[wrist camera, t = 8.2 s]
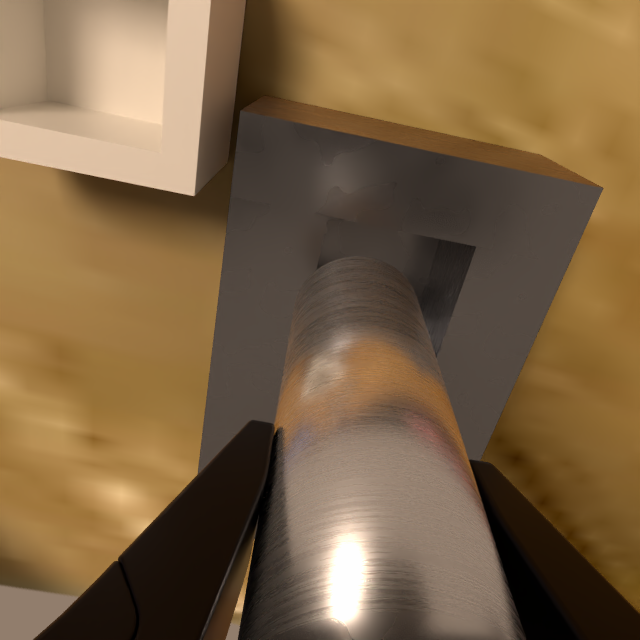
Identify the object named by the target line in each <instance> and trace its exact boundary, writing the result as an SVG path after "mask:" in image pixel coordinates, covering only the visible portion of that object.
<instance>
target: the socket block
mask: <svg viewBox="0 0 640 640" xmlns="http://www.w3.org/2000/svg"><path fill="white" fill-rule="evenodd" d="M602 190H603V188H602V187H600V186H599V185H597V184H595V183H593V182H591V181H589V180H587V179H585V178H583V177H582V176H580V175H578V174H576V173H574V172H572V171H570V170H568V169H567V168H565V167H563V166H561V165H559V164H557V163H555V162H553V161H551V160H550V159H548V158H546V157H544V156H542V155H539V154H535V153H530V152H526V151H521V150H516V149H512V148H507V147H503V146H498V145H493V144H489V143H484V142H479V141H475V140H470V139H466V138H461V137H456V136H452V135H447V134H442V133H438V132H433V131H429V130H424V129H419V128H415V127H410V126H405V125H401V124H396V123H392V122H387V121H382V120H378V119H373V118H368V117H364V116H359V115H355V114H350V113H345V112H341V111H336V110H331V109H327V108H322V107H318V106H313V105H308V104H304V103H299V102H294V101H290V100H285V99H281V98H276V97H271V96H267V95H264V96H263V97H261V98H259V99H258V100H256V101H255V102H253V103H251V104H250V105H248V106H247V107H245V108H243V109H242V110H240V118H239V127H238V135H237V144H236V152H235V161H234V169H233V178H232V186H231V195H230V203H229V212H228V220H227V229H226V237H225V246H224V254H223V263H222V271H221V280H220V289H219V297H218V306H217V314H216V323H215V331H214V340H213V348H212V357H211V365H210V374H209V382H208V391H207V399H206V408H205V416H204V425H203V433H202V442H201V450H200V459H199V468H198V474H199V473H200V472H201V471H202V470H203V469H204V468H205V467H206V466H207V464H208V463H209V462H210V461H211V460H212V459H213V458H214V457H215V456H216V455H217V454H218V453H219V452H220V451H221V450H222V449H223V448H224V447H225V446H226V445H227V444H228V443H229V442H230V440H231V439H232V438H233V437H234V436H235V435H236V434H237V433H238V432H239V431H240V430H241V429H242V428H243V427H244V426H245V425H246V424H247V423H248V422H249V421H250V420H258V421H263V422H269V423H273V424H274V423H275V417H276V412H277V406H278V400H279V394H280V388H281V382H282V376H283V370H284V364H285V358H286V353H287V347H288V341H289V335H290V329H291V323H292V317H293V311H294V305H295V301H296V297H297V295H298V292H299V290H300V288H301V286H302V285H303V283H304V282H305V281H306V279H307V278H308V277H309V276H310V275H311V274H312V273H313V272H314V271H316V270H317V269H319V268H320V267H321V266H323V265H325V264H327V263H329V262H331V261H334V260H337V259H341V258H345V257H354V256H358V257H369V258H374V259H378V260H381V261H383V262H386V263H388V264H390V265H391V266H393V267H395V268H396V269H397V270H399V271H400V272H401V273H402V274H403V275H404V276H405V277H406V278H407V279H408V281H409V282H410V284H411V285H412V287H413V289H414V291H415V293H416V296H417V299H418V302H419V305H420V309H421V312H422V315H423V318H424V321H425V324H426V327H427V331H428V334H429V337H430V340H431V343H432V346H433V349H434V352H435V356H436V359H437V362H438V365H439V368H440V371H441V374H442V377H443V381H444V384H445V387H446V390H447V393H448V396H449V399H450V403H451V406H452V409H453V412H454V415H455V418H456V421H457V424H458V428H459V431H460V434H461V437H462V440H463V443H464V446H465V449H466V453H467V456H468V459H469V460H470V459H472V460H477V461H480V460H481V457H482V455H483V453H484V451H485V449H486V446H487V444H488V442H489V440H490V438H491V435H492V433H493V431H494V429H495V427H496V424H497V422H498V420H499V418H500V415H501V413H502V411H503V409H504V407H505V404H506V402H507V400H508V398H509V396H510V393H511V391H512V389H513V387H514V385H515V382H516V380H517V378H518V376H519V374H520V371H521V369H522V367H523V365H524V362H525V360H526V358H527V356H528V354H529V351H530V349H531V347H532V345H533V343H534V340H535V338H536V336H537V334H538V332H539V329H540V327H541V325H542V323H543V320H544V318H545V316H546V314H547V312H548V309H549V307H550V305H551V303H552V301H553V298H554V296H555V294H556V292H557V290H558V287H559V285H560V283H561V281H562V279H563V276H564V274H565V272H566V270H567V267H568V265H569V263H570V261H571V259H572V256H573V254H574V252H575V250H576V248H577V245H578V243H579V241H580V239H581V237H582V234H583V232H584V230H585V228H586V226H587V223H588V221H589V219H590V217H591V214H592V212H593V210H594V208H595V206H596V203H597V201H598V199H599V197H600V195H601V192H602ZM258 518H259V517H258ZM257 524H258V522H257ZM256 529H257V526H256ZM255 535H256V531H255ZM254 539H255V536H254Z"/></svg>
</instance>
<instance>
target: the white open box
mask: <svg viewBox="0 0 640 640" xmlns="http://www.w3.org/2000/svg"><path fill="white" fill-rule="evenodd" d="M245 6H246V0H0V157H3V158H8V159H13V160H18V161H23V162H28V163H33V164H38V165H43V166H48V167H53V168H57V169H62V170H67V171H72V172H77V173H82V174H87V175H92V176H97V177H102V178H107V179H112V180H117V181H122V182H127V183H132V184H136V185H141V186H146V187H151V188H156V189H161V190H166V191H171V192H176V193H181V194H186V195H191V196H195V195H196V194H197V193H198V192H199V191H200V190H201V189H202V188H203V187H204V186H205V185H206V184H207V183H208V182H209V181H210V180H211V179H212V178H213V177H214V176H215V175H216V174H217V173H218V172H219V171H220V170H221V169H222V167H223V166H224V165H225V164H226V163H227V162H228V158H229V149H230V140H231V131H232V122H233V113H234V104H235V95H236V86H237V77H238V68H239V59H240V50H241V41H242V33H243V24H244V15H245Z"/></svg>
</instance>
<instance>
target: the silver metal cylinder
mask: <svg viewBox="0 0 640 640" xmlns="http://www.w3.org/2000/svg"><path fill="white" fill-rule="evenodd" d="M274 426H275V431H274V438H273V444H272V451H271V457H270V464H269V470H268V475H267V479H266V484H265V489H264V494H263V498H262V503H261V508H260V512H259V518H258V524H257V529H256V535H255V541H254V547H253V553H252V559H251V565H250V571H249V577H248V583H247V588H246V594H245V600H244V606H243V612H242V618H241V624H240V631H239V636H238V640H526V637H525V634H524V631H523V628H522V625H521V622H520V619H519V615H518V612H517V609H516V606H515V603H514V600H513V597H512V593H511V590H510V587H509V584H508V581H507V578H506V575H505V572H504V568H503V565H502V562H501V559H500V556H499V553H498V550H497V547H496V543H495V540H494V537H493V534H492V531H491V528H490V525H489V521H488V518H487V515H486V512H485V509H484V506H483V503H482V500H481V496H480V493H479V490H478V487H477V484H476V481H475V478H474V475H473V471H472V468H471V465H470V462H469V459H468V456H467V453H466V449H465V446H464V443H463V440H462V437H461V434H460V431H459V428H458V424H457V421H456V418H455V415H454V412H453V409H452V406H451V403H450V399H449V396H448V393H447V390H446V387H445V384H444V381H443V377H442V374H441V371H440V368H439V365H438V362H437V359H436V356H435V352H434V349H433V346H432V343H431V340H430V337H429V334H428V331H427V327H426V324H425V321H424V318H423V315H422V312H421V309H420V305H419V302H418V299H417V296H416V293H415V291H414V289H413V287H412V285H411V284H410V282H409V281H408V279H407V278H406V277H405V276H404V275H403V274H402V273H401V272H400V271H399V270H397V269H396V268H395V267H393V266H391V265H390V264H388V263H386V262H383V261H381V260H378V259H374V258H369V257H358V256H354V257H345V258H341V259H337V260H334V261H331V262H329V263H327V264H325V265H323V266H321V267H320V268H319V269H317V270H316V271H314V272H313V273H312V274H311V275H310V276H309V277H308V278H307V279H306V281H305V282H304V283H303V285H302V286H301V288H300V290H299V292H298V295H297V297H296V301H295V305H294V311H293V317H292V323H291V329H290V335H289V341H288V347H287V353H286V358H285V364H284V370H283V376H282V382H281V388H280V394H279V400H278V406H277V412H276V417H275V423H274Z"/></svg>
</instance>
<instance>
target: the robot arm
mask: <svg viewBox="0 0 640 640" xmlns="http://www.w3.org/2000/svg"><path fill="white" fill-rule="evenodd" d="M274 431H275V426H274V424H273V423H269V422H263V421H258V420H250V421H249V422H248V423H247V424H246V425H245V426H244V427H243V428H242V429H241V430H240V431H239V432H238V433H237V434H236V435H235V436H234V437H233V438H232V439H231V440H230V442H229V443H228V444H227V445H226V446H225V447H224V448H223V449H222V450H221V451H220V452H219V453H218V454H217V455H216V456H215V457H214V458H213V459H212V460H211V461H210V462H209V463H208V464H207V466H206V467H205V468H204V469H203V470H202V471H201V472H200V473H199V474H198V475H197V476H196V477H195V478H194V479H193V480H192V481H191V482H190V483H189V484H188V485H187V486H186V487H185V488H184V490H183V491H182V492H181V493H180V494H179V495H178V496H177V497H176V498H175V499H174V500H173V501H172V502H171V503H170V504H169V505H168V506H167V507H166V508H165V509H164V510H163V511H162V512H161V513H160V515H159V516H158V517H157V518H156V519H155V520H154V521H153V522H152V523H151V524H150V525H149V526H148V527H147V528H146V529H145V530H144V531H143V532H142V533H141V534H140V535H139V536H138V537H137V539H136V540H135V541H134V542H133V543H132V544H131V545H130V546H129V547H128V548H127V549H126V550H125V551H124V552H123V553H122V554H121V555H120V556H119V558H118V561H114V562H113V563H112V564H111V565H110V566H109V567H108V568H107V569H106V571H105V572H104V573H103V574H102V575H101V576H100V577H99V578H98V579H97V580H96V581H95V582H94V583H93V584H92V585H91V586H90V587H89V588H88V589H87V590H86V591H85V592H84V593H83V594H82V595H81V596H80V597H79V598H78V599H77V600H76V601H75V602H74V603H73V604H72V605H71V606H70V607H69V608H68V609H67V610H66V611H65V612H64V613H63V614H62V615H60V616H59V617H58V618H57V619H56V620H55V621H54V622H53V623H51V624H50V625H49V626H48V627H47V628H46V629H45V630H43V631H42V632H41V633H40V634H39V635H38V636H37V637H36V638H34V640H225V639H226V636H227V633H228V629H229V626H230V623H231V620H232V617H233V613H234V610H235V607H236V604H237V601H238V597H239V594H240V591H241V588H242V584H243V581H244V578H245V574H246V571H247V567H248V564H249V559H250V555H251V550H252V545H253V540H254V536H255V531H256V526H257V522H258V517H259V512H260V508H261V503H262V498H263V494H264V489H265V484H266V479H267V475H268V470H269V464H270V457H271V451H272V444H273V438H274ZM469 462H470V465H471V468H472V471H473V475H474V478H475V481H476V484H477V487H478V490H479V493H480V496H481V500H482V503H483V506H484V509H485V512H486V515H487V518H488V521H489V525H490V528H491V531H492V534H493V537H494V540H495V543H496V547H497V550H498V553H499V556H500V559H501V562H502V565H503V568H504V572H505V575H506V578H507V581H508V584H509V587H510V590H511V593H512V597H513V600H514V603H515V606H516V609H517V612H518V615H519V619H520V622H521V625H522V628H523V631H524V634H525V637H526V640H640V613H639V612H638V611H637V610H636V609H635V608H634V607H633V606H632V605H631V604H630V603H629V602H628V601H627V600H626V599H625V598H624V597H623V596H622V595H621V594H620V593H619V592H618V591H617V590H616V589H615V588H614V587H613V586H612V585H611V584H610V583H609V582H608V581H607V580H606V579H605V578H604V577H603V576H602V575H601V574H600V573H599V572H598V571H597V570H596V569H595V568H594V567H593V566H592V565H591V564H590V563H589V562H588V561H587V560H586V559H585V558H584V557H583V556H582V555H581V554H580V553H579V551H578V550H577V549H576V548H575V547H574V546H573V545H572V544H571V543H570V542H569V541H568V540H567V539H566V538H565V537H564V536H563V535H562V534H561V533H560V532H559V531H558V530H557V529H556V528H555V527H554V526H553V525H552V524H551V523H550V522H549V521H548V520H547V519H546V518H545V517H544V516H543V515H542V514H541V513H540V512H539V511H538V510H537V509H536V508H535V507H534V506H533V505H532V504H531V503H530V502H529V501H528V500H527V499H526V498H525V497H524V496H523V495H522V494H521V493H520V492H519V491H518V490H517V489H516V488H515V487H514V486H513V485H512V483H511V482H510V481H509V480H508V479H507V478H506V477H505V476H504V475H503V474H502V473H501V472H500V471H499V470H498V469H497V468H496V467H495V466H494V465H492V464H491V463H488V462H483V461H477V460H472V459H470V460H469Z"/></svg>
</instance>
